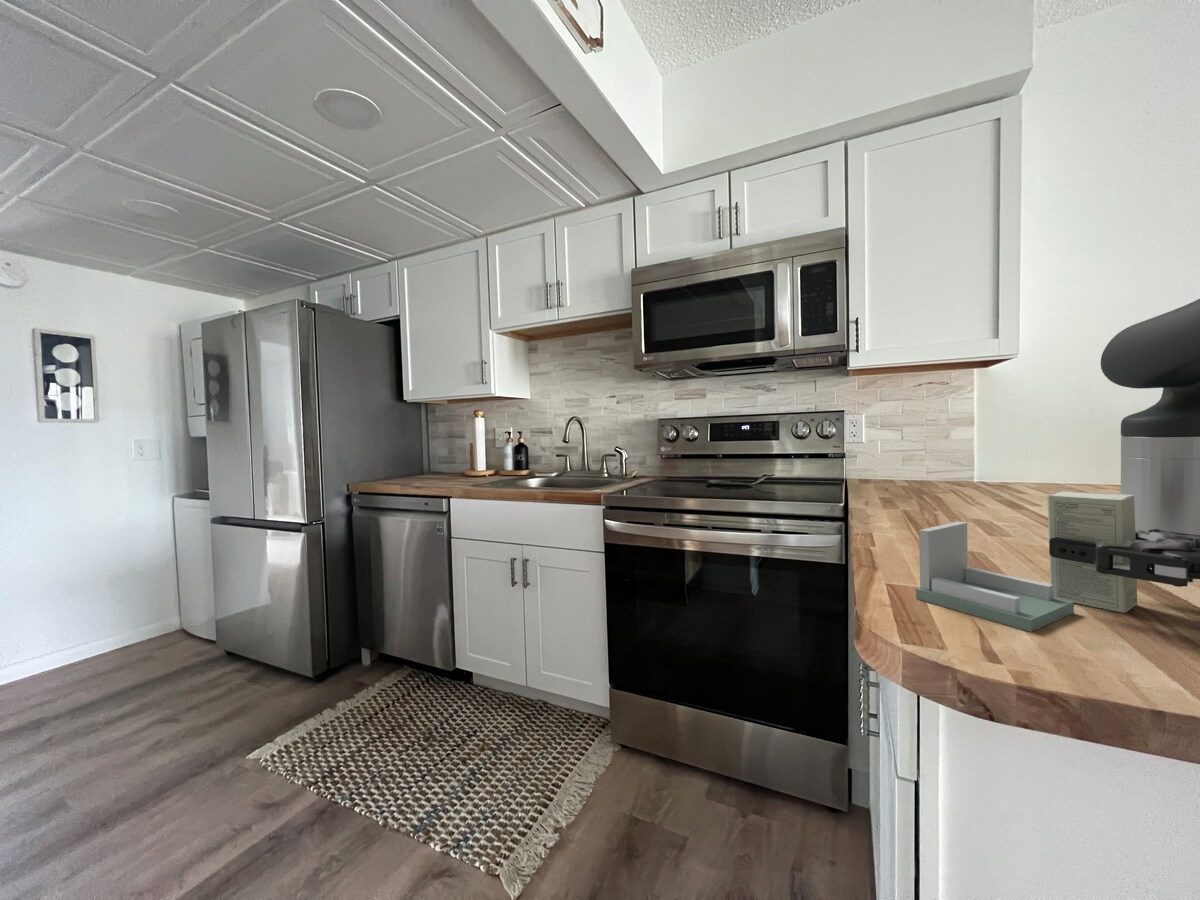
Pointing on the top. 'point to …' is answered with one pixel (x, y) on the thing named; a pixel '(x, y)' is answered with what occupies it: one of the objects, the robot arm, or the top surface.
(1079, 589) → the skincare box
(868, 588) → the top surface
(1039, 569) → the top surface
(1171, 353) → the robot arm
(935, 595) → the deck socket
